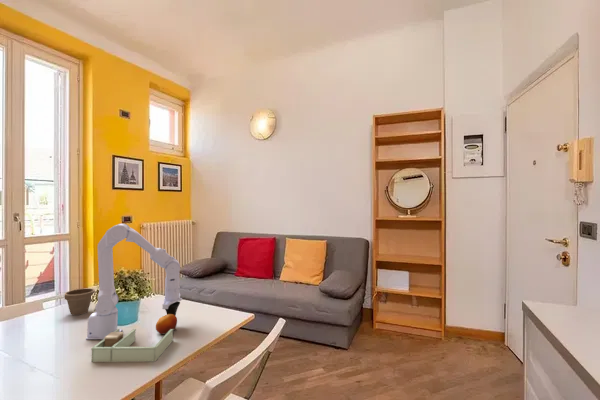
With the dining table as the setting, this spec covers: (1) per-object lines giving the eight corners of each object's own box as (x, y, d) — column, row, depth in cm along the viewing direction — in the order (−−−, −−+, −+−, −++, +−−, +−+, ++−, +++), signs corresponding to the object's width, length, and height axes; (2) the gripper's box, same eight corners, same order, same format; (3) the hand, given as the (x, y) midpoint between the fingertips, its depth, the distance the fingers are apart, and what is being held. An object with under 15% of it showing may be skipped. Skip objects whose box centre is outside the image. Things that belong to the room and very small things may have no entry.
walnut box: (116, 354, 100) (116, 337, 101) (104, 354, 100) (104, 337, 100) (122, 348, 105) (123, 332, 105) (111, 349, 104) (111, 332, 104)
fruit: (173, 333, 114) (164, 315, 115) (157, 342, 115) (149, 324, 116) (185, 325, 122) (176, 308, 123) (170, 333, 123) (162, 316, 124)
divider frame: (90, 362, 96) (91, 348, 96) (116, 341, 110) (117, 329, 110) (155, 361, 97) (155, 348, 97) (172, 340, 111) (173, 329, 111)
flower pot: (74, 308, 143) (75, 287, 143) (99, 308, 144) (99, 287, 144) (57, 317, 131) (58, 295, 132) (84, 317, 133) (85, 294, 133)
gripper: (175, 293, 117) (174, 327, 117) (187, 283, 132) (186, 313, 132) (157, 293, 117) (156, 327, 117) (171, 283, 132) (170, 313, 131)
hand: (171, 320), depth 124 cm, fingers closed
